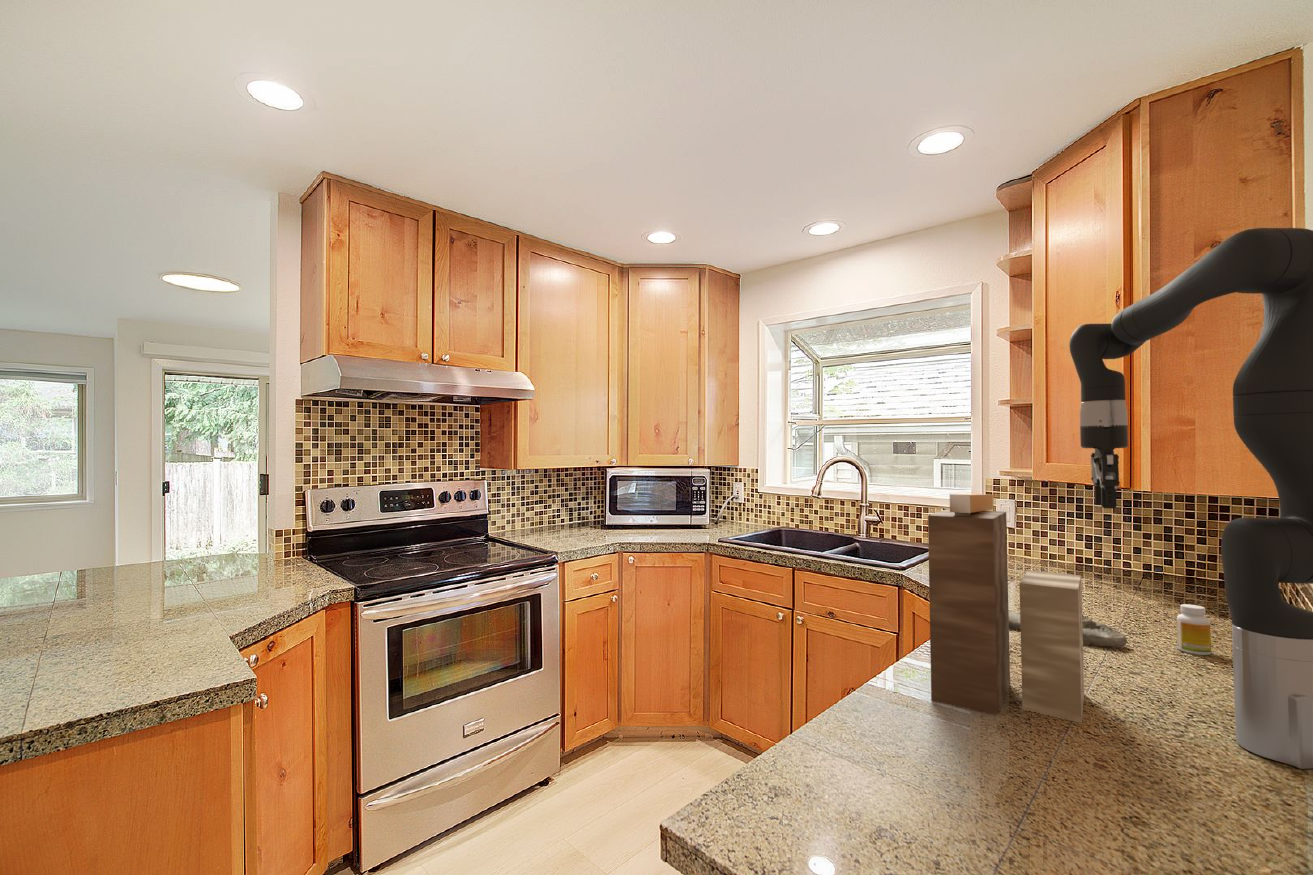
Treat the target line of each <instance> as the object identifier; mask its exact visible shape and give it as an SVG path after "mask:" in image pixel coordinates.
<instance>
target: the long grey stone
mask: <svg viewBox="0 0 1313 875" xmlns="http://www.w3.org/2000/svg"><path fill="white" fill-rule="evenodd" d="M1082 626H1083V645H1085V646H1090V645H1094V646H1101V647H1110V648H1111V647H1112V648H1113V647H1114V648H1123V647H1125V646H1126V644H1127V643H1128V638H1127V636H1126V635H1125V634H1123V633H1121V632H1118V630H1116V629H1113V628H1112V627H1110V626H1108V625H1107V624H1105V623H1101V622H1096V621H1094V620H1093V619H1092V618H1091V617H1090V618H1089V617H1085V616H1084V614H1083V613H1082ZM1012 628H1013V630H1015V629H1019V630H1018V631H1021V627H1020V611H1013V610H1009V629H1012Z"/></svg>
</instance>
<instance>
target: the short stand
mask: <svg viewBox="0 0 1313 875" xmlns="http://www.w3.org/2000/svg"><path fill="white" fill-rule="evenodd" d="M1082 594H1083V593H1082V575H1079V574H1070V573H1069V574H1068V573H1060V572H1049V571H1038V570H1029V569H1028V571H1026V573H1025V574H1024V576H1023V577H1022V579H1021V580H1020V582H1019V612H1020V627H1021V630H1020V659H1021V660H1020V664H1021V665H1020V666H1021V667H1020V668H1021V669H1020V670H1021V702H1022V703H1021V704H1022V711H1025V710H1027V711H1026V712H1029V711H1031V713H1034V712H1036V713H1035V714H1038V713H1040V714H1039V715H1043V714H1044V715H1043V716H1047V715H1049V716H1048V717H1052V716H1054V717H1053V718H1056V717H1057V718H1058V719H1061V720H1065V719H1067V720H1066V721H1070V722H1075V723H1080V724H1082V723H1083V722H1082V721H1083V712H1084V700H1085V677H1084V676H1085V673H1084V672H1085V671H1084V670H1085V669H1084V666H1085V665H1084V644H1083V626H1082V614H1083V599H1082V598H1083V597H1082V596H1083V595H1082Z"/></svg>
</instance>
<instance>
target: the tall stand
mask: <svg viewBox="0 0 1313 875" xmlns="http://www.w3.org/2000/svg"><path fill="white" fill-rule="evenodd" d="M1007 524H1008V522H1007V511H1005V510H1003V511H1002V510H1001V511H1000V510H999V511H997V510H986V511H979V512H972V513H958V512H950V508H946V509H943V510H940V511H937V512H934V513H931V514H928V515H927V529H928V530H927V532H928V534H927V537H928V541H927V542H928V582H929V583H928V588H929V589H928V593H929V635H930V636H929V638H930V639H929V641H930V642H929V643H930V644H929V645H930V647H929V650H930V653H929V654H930V692H931V693H930V696H931V698H930V700H931V701H932V702H936V703H940V704H941V703H942V704H946V705H950V706H954V707H958V708H963V709H967V710H972V711H976V712H980V713H984V714H988V715H993V716H999V712H1000V711H1001V708H1002V706H1003V704H1004V701H1005V698H1006V697H1007V694H1008V692H1009V689H1010V687H1011V665H1010V664H1011V662H1010V660H1011V659H1010V658H1011V657H1010V628H1009V609H1010V608H1009V576H1008V575H1009V572H1008V571H1009V570H1008V567H1009V566H1008V532H1007V531H1008V530H1007V528H1008V527H1007V526H1008V525H1007Z"/></svg>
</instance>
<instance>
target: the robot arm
mask: <svg viewBox="0 0 1313 875" xmlns="http://www.w3.org/2000/svg"><path fill="white" fill-rule="evenodd" d="M1235 293H1237V294H1261V295H1262V303H1263V324H1262V329H1261V332H1260V335H1259V338H1258V340H1257V342H1256V344H1255V345H1254V347H1253V348H1252V350H1251V351H1250V353H1249V354H1248V356H1246V359H1245V361H1244V362H1243V364H1242V366H1241V367H1240V369H1239V370H1238V372H1237V374H1236V376H1235V379H1234V381H1233V387H1232V411H1233V425H1234V429H1235V431H1236V435H1238V437H1239V439H1240V440H1241V441H1242V442H1243V444H1244V445H1245V447H1246V448H1247V450H1249V452H1250V453H1251V454H1252V455H1253V456H1254V458H1256V460H1257V461H1258V462H1259V463H1260V464H1261V466H1263V468H1264V469H1265V471H1266V472H1267V473H1268V475H1269V476H1270V478H1271V479H1272V482H1273V483H1274V486H1275V488H1276V491H1277V492H1276V493H1277V496H1278V503H1279V509H1280V510H1279V511H1280V512H1279V513H1280V515H1279V516H1280V517H1238V518H1235V519H1233V520H1231V521H1230V522H1228V523H1227V524H1226V526H1224V529H1223V532H1222V535H1221V540H1220V541H1221V542H1220V548H1221V549H1220V551H1221V562H1222V569H1223V579H1224V580H1223V581H1224V590H1225V591H1224V592H1225V593H1224V594H1225V599H1226V603H1227V605H1228V608H1229V611H1230V615H1231V616H1230V617H1231V637H1232V638H1231V640H1232V643H1231V644H1232V665H1233V666H1232V667H1233V668H1232V669H1233V670H1232V672H1233V695H1234V696H1233V697H1234V698H1233V699H1234V721H1235V722H1234V723H1235V725H1234V726H1235V741H1236V743H1237V744H1238V745H1239V746H1240V747H1242V748H1243V749H1245V750H1247V751H1249V752H1251V753H1253V754H1255V755H1257V756H1260V757H1263V758H1267V759H1270V760H1273V761H1276V762H1280V763H1284V764H1287V765H1291V766H1293V767H1296V768H1298V769H1303V770H1305V769H1313V611H1312V610H1308V609H1305V608H1303V607H1299V606H1296V605H1293V604H1290V603H1289V602H1287V601H1286V600H1285V599H1283V597H1282V594H1281V591H1280V586H1279V584H1301V585H1302V584H1304V585H1305V584H1306V585H1308V584H1309V585H1311V584H1312V585H1313V230H1312V229H1310V228H1309V229H1308V228H1303V227H1302V228H1301V227H1259V228H1258V227H1256V228H1250V229H1249V228H1248V229H1245V230H1241V231H1239V232H1238V233H1237V232H1236V233H1235V234H1233V235H1231V236H1230V237H1227V238H1226V239H1225V240H1224V241H1222V242H1221V243H1219V244H1218V245H1217V246H1215V247H1214V248H1213V249H1211V250H1210V251H1209V252H1207V253H1206V254H1205V255H1203V256H1202V257H1201V258H1200V259H1199V260H1197V261H1196V262H1195V263H1194V264H1192V265H1191V266H1190V267H1188V268H1187V269H1185V271H1183V272H1182V273H1180V274H1179V275H1178V276H1176V277H1174V279H1173V280H1171V281H1170V282H1168V283H1167V284H1166V285H1164V286H1163V287H1161V288H1160V289H1158V290H1157V291H1155V292H1153V293H1152V294H1149V295H1147V296H1146V297H1144V298H1142V299H1140V300H1138V301H1136V302H1135V303H1132V304H1130V305H1129V306H1127V307H1125V308H1124V309H1122V310H1120V311H1119V312H1118V313H1116V315H1115V316H1114V317H1113V319H1112V321H1111V323H1085V324H1084V323H1083V324H1081V325H1079V326H1078V327H1076V328H1075V329H1074V330H1073V332H1072V334H1071V336H1070V339H1069V343H1068V344H1069V345H1068V346H1069V347H1068V348H1069V351H1070V352H1069V353H1070V355H1071V359H1072V361H1073V364H1074V366H1075V370H1076V373H1077V375H1078V378H1079V382H1080V402H1081V403H1080V412H1079V425H1080V426H1079V428H1080V430H1079V431H1080V432H1079V434H1080V438H1079V439H1080V447H1081V448H1083V449H1094V452H1091V454H1090V465H1091V469H1090V470H1091V471H1090V473H1091V477H1090V478H1091V481H1092V484H1093V486H1094V487H1093V488H1094V503H1095V504H1097V505H1101V507H1102V509H1116V508H1117V489H1118V487H1119V485H1120V484H1121V482H1120V477H1119V476H1120V472H1119V470H1120V468H1119V463H1120V462H1119V458H1120V457H1119V455H1118V453H1117V454H1115V451H1114V450H1115V449H1126V448H1127V447H1129V432H1128V430H1129V426H1128V425H1129V424H1128V421H1129V420H1128V409H1127V404H1126V380H1125V375H1124V374H1123V373H1122V372H1120V371H1117V370H1114V369H1109V367H1107V366H1106V365H1105V362H1104V360H1116V359H1121V358H1124V357H1127V356H1129V355H1131V354H1133V353H1134V352H1135V351H1136V350H1138V349H1139V348H1140V347H1141V346H1142V345H1144V344H1145V343H1146V342H1147V341H1150V340H1152V339H1154V338H1156V337H1159V336H1160V335H1162V334H1165V333H1167V332H1169V331H1171V330H1173V329H1175V328H1176V327H1178V326H1179V325H1181V324H1182V323H1184V321H1185V320H1187V318H1188V317H1189V315H1190V314H1191V313H1192V312H1193V310H1194V309H1195V308H1196V307H1198V306H1199V305H1200V304H1203V303H1204V302H1207V301H1210V300H1213V299H1216V298H1219V297H1220V298H1221V297H1223V296H1227V295H1229V294H1235Z"/></svg>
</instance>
